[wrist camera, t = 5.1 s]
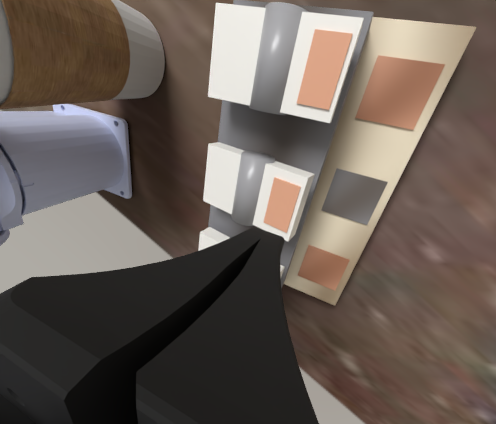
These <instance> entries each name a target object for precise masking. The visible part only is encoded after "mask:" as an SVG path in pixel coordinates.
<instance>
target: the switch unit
mask: <svg viewBox="0 0 496 424" xmlns="http://www.w3.org/2000/svg"><path fill="white" fill-rule="evenodd" d="M267 4H268V2H257V1H246V0H234V2H233V5H243V6H253V7H262V8H265V6H266V5H267ZM297 6H299V7H302V8H304V9H305V10H307V11H308V12H311V13H321V14H331V15H341V16H350V17H360V18H364V20H363V25H362V29H361V32H360V35H359V38H358V41H357V44H356V47H355V50H354V53H353V57H352V60H351V63H350V66H349V69H348V72H347V75H346V78H345V81H344V84H343V87H342V91H341V94H340V97H339V100H338V103H337V106H336V109H335V112H334V115H333V118H332V121H331V123H326V122H322V121H317V120H313V119H308V118H303V117H299V116H294V115H290V114H286V115H278V114H272V113H267V112H262V111H258V110H254V109H251V108H249V105H244V104H240V103H235V102H231V101H226V100H222V109H221V118H220V127H219V135H218V142H220V143H223V144H226V145H229V146H232V147H235V148H238V149H241V150H244V151H255V152H261V153H265V154H268V155H270V156H272V157H274V158H275V161H277V162H280V163H283V164H286V165H289V166H292V167H295V168H298V169H301V170H304V171H307V172H310V173H313V174H315V175H314V178H313V181H312V184H311V187H310V190H309V193H308V197H307V200H306V203H305V206H304V209H303V212H302V215H301V218H300V221H299V224H298V227H297V230H296V233H295V235H294V236H293V237H292V238H291V239H290V240H289V241H286V240H285V242H284V245H283V249H282V252H281V258H280V265H282V266H284V270H283V274H282V277H281V289H282V287H283V284H285V285H287V286H290V287H292V288H294V289H297V290H299V291H301V292H304V293H306V294H308V295H311V296H313V297H316V298H318V299H320V300H323V301H325V302H327V303H330V304H332V305H334V306H335V305H336V303H337V301H338V299H339V297H340V295H341V293H342V291H343V289H344V287H345V285H346V283H347V281H348V279H349V277H350V275H351V273H352V271H353V269H354V267H355V265H356V263H357V261H358V259H359V257H360V255H361V253H362V251H363V249H364V247H365V245H366V244H367V242H368V240H369V238H370V236H371V234H372V232H373V230H374V228H375V226H376V224H377V222H378V220H379V218H380V216H381V214H382V212H383V210H384V208H385V206H386V204H387V202H388V200H389V198H390V196H391V194H392V192H393V190H394V188H395V186H396V184H397V183H398V181H399V179H400V177H401V175H402V173H403V171H404V169H405V167H406V165H407V163H408V161H409V159H410V157H411V155H412V153H413V151H414V149H415V147H416V145H417V143H418V141H419V139H420V137H421V135H422V133H423V131H424V129H425V127H426V125H427V123H428V121H429V120H430V118H431V116H432V114H433V112H434V110H435V108H436V106H437V104H438V102H439V100H440V98H441V96H442V94H443V92H444V90H445V88H446V86H447V84H448V82H449V80H450V78H451V76H452V74H453V72H454V70H455V68H456V66H457V64H458V62H459V60H460V58H461V57H462V55H463V53H464V51H465V49H466V47H467V45H468V43H469V41H470V39H471V37H472V35H473V33H474V31H475V29H476V27H471V26H461V25H450V24H440V23H429V22H419V21H409V20H398V19H388V18H377V17H373V13H374V12H368V11H357V10H346V9H335V8H324V7H313V6H301V5H297ZM231 215H232V214H230V213H228V212H225V211H223V210H221V209H219V208H217V207H215V206H213V205H211V206H210V215H209V224H208V227H211V228H213V229H215V230H217V231H219V232H221V233H222V234H224V235H226V236H228V237H230V238H231V237H234V236H236V235H238V234H240V233H242V232H244V231H246V230H248V229H251V228H253V227H256V228H259V227H257V226H244V225H241V224H238V223H236V222H235V221H234V220H233V219H232V218H231ZM259 229H261V228H259ZM262 230H263V229H262Z"/></svg>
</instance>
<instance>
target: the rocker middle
mask: <svg viewBox="0 0 496 424" xmlns="http://www.w3.org/2000/svg"><path fill="white" fill-rule="evenodd" d="M314 175H315V174H313V173H310V172H307V171H304V170H301V169H298V168H295V167H292V166H289V165H286V164H283V163H280V162H277V161H275V158H274V157H272V156H270V155H268V154H265V153H261V152H255V151H244V150H241V149H238V148H235V147H232V146H229V145H226V144H223V143H220V142H218V143H210V144H208V155H207V165H206V176H205V186H204V197H203V201H205V202H207V203H209V204H211V205H213V206H215V207H217V208H219V209H221V210H223V211H225V212H228V213H230V214H232V215H231V218H232V219H233V220H234V221H235V222H236V223H238V224H241V225H244V226H257V227H259V228H261V229H263V230H265V231H268V232H271V233H273V234H276V235H279V236H282V237H283V238H284V240H286V241H289V240H290V239H291V238H292V237H293V236H294V235H295V233H296V230H297V227H298V224H299V221H300V218H301V215H302V212H303V209H304V206H305V203H306V200H307V197H308V193H309V190H310V187H311V184H312V181H313V178H314Z"/></svg>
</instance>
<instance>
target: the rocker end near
mask: <svg viewBox="0 0 496 424" xmlns="http://www.w3.org/2000/svg"><path fill="white" fill-rule="evenodd" d="M363 20H364V18H360V17H350V16H341V15H331V14H321V13H311V12H308V11H307V10H305V9H304V8H302V7H299V6H297V5H293V4H289V3H283V2H272V3H268V4H267V5H266V6H265V8H262V7H253V6H243V5H233V4H223V3H216V9H215V20H214V32H213V44H212V55H211V67H210V79H209V90H208V97H212V98H217V99H222V100H226V101H231V102H235V103H240V104H244V105H249V108H251V109H254V110H258V111H262V112H267V113H272V114H278V115H286V114H290V115H294V116H299V117H303V118H308V119H313V120H317V121H322V122H326V123H331V121H332V118H333V115H334V112H335V109H336V106H337V103H338V100H339V97H340V94H341V91H342V87H343V84H344V81H345V78H346V75H347V72H348V69H349V66H350V63H351V60H352V57H353V53H354V50H355V47H356V44H357V41H358V38H359V35H360V32H361V29H362V25H363Z"/></svg>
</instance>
